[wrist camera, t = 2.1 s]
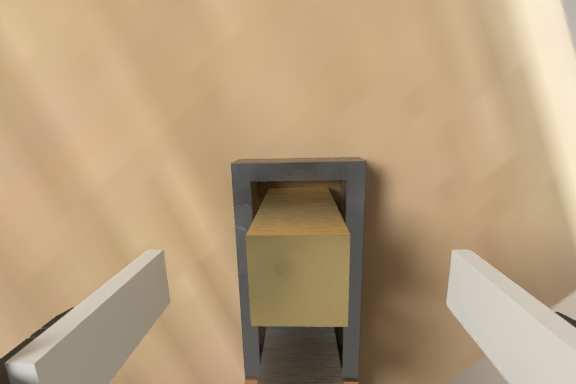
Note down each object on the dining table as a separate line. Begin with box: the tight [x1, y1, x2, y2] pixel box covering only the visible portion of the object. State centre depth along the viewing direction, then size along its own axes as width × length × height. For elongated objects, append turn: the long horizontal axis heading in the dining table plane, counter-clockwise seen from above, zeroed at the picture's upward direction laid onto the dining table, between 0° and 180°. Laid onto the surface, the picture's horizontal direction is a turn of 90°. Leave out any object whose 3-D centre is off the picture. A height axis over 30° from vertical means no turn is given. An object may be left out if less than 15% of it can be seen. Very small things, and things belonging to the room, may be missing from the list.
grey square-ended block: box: [257, 326, 344, 384], centre depth 20 cm, size 4×4×10 cm
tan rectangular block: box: [246, 187, 350, 327], centre depth 18 cm, size 4×4×10 cm
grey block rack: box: [231, 157, 366, 384], centre depth 23 cm, size 9×26×3 cm, turn 1°
